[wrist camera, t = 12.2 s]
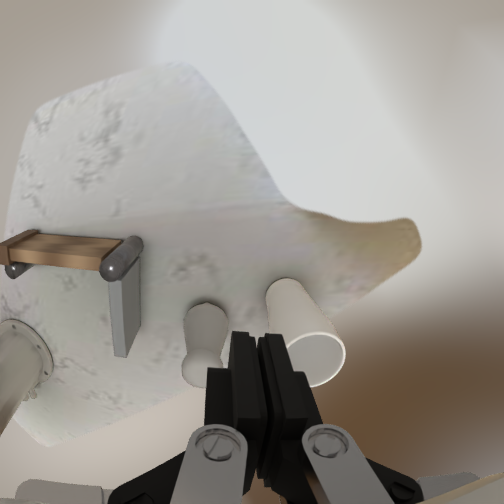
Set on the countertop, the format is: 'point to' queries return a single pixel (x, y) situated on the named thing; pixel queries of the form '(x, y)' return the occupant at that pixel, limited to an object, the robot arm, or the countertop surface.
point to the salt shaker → (203, 342)
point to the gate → (56, 250)
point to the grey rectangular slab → (125, 308)
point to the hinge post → (120, 259)
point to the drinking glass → (304, 331)
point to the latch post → (17, 269)
